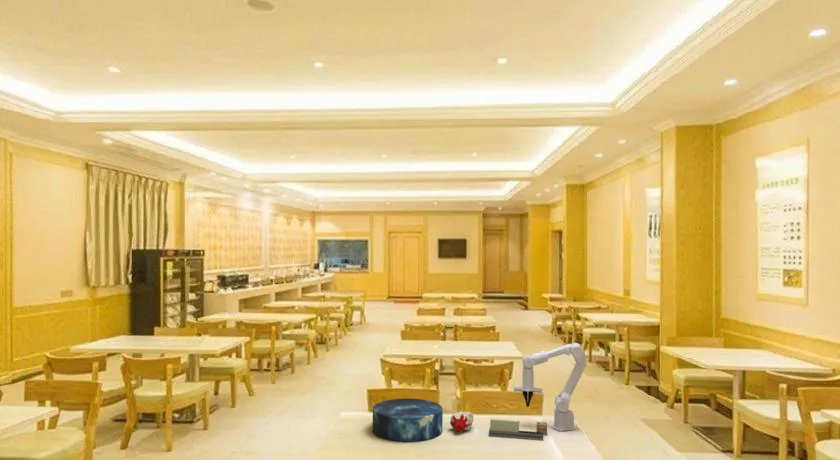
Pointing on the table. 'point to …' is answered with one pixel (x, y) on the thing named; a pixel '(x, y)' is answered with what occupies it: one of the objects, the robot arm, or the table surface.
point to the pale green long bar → (504, 425)
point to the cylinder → (407, 420)
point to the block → (542, 427)
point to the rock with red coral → (461, 421)
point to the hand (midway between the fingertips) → (527, 406)
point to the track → (517, 435)
